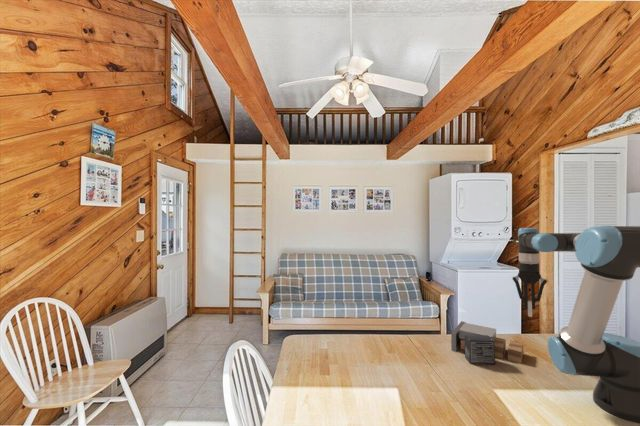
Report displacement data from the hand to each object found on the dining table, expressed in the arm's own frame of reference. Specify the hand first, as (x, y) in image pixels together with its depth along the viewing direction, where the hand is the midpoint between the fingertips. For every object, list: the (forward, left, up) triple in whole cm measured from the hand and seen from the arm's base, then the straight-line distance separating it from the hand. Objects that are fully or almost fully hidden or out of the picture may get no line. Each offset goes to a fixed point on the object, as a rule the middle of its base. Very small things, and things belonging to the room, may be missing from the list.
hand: (530, 316), depth 134 cm
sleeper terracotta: (0, +25, -20) cm, 32 cm away
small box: (-14, +18, -20) cm, 30 cm away
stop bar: (-1, +29, -20) cm, 35 cm away
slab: (-1, +21, -15) cm, 25 cm away
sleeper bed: (-1, +12, -20) cm, 23 cm away
